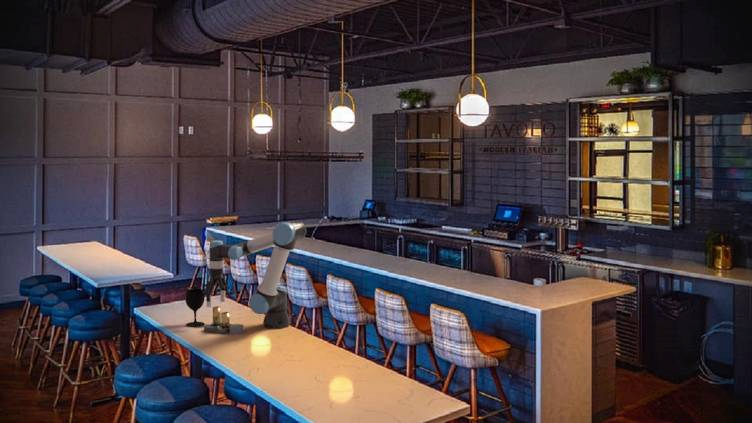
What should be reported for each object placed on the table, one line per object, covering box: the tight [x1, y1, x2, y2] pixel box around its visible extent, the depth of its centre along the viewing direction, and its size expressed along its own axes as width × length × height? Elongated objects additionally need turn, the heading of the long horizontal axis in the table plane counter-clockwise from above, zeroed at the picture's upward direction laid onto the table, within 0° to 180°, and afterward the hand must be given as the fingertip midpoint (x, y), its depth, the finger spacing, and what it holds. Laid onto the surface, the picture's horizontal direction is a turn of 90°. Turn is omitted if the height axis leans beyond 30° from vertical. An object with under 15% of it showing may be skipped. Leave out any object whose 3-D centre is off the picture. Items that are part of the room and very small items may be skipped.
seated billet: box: [221, 311, 231, 328], centre depth 350 cm, size 4×4×10 cm
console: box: [229, 323, 245, 336], centre depth 347 cm, size 6×5×4 cm
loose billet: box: [212, 305, 222, 323], centre depth 363 cm, size 4×4×10 cm
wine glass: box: [184, 288, 205, 328], centre depth 361 cm, size 10×10×20 cm
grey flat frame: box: [203, 322, 235, 335], centre depth 352 cm, size 11×14×2 cm
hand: (216, 304), depth 362 cm, fingers open, 13 cm apart
